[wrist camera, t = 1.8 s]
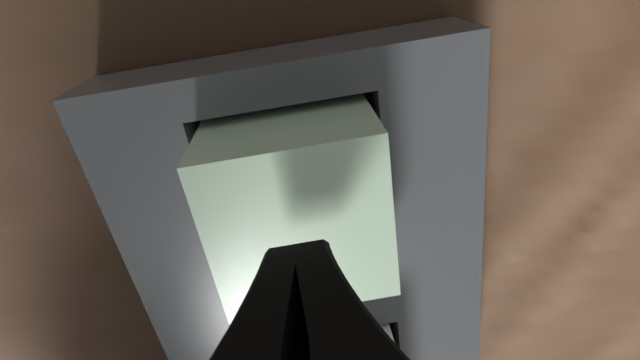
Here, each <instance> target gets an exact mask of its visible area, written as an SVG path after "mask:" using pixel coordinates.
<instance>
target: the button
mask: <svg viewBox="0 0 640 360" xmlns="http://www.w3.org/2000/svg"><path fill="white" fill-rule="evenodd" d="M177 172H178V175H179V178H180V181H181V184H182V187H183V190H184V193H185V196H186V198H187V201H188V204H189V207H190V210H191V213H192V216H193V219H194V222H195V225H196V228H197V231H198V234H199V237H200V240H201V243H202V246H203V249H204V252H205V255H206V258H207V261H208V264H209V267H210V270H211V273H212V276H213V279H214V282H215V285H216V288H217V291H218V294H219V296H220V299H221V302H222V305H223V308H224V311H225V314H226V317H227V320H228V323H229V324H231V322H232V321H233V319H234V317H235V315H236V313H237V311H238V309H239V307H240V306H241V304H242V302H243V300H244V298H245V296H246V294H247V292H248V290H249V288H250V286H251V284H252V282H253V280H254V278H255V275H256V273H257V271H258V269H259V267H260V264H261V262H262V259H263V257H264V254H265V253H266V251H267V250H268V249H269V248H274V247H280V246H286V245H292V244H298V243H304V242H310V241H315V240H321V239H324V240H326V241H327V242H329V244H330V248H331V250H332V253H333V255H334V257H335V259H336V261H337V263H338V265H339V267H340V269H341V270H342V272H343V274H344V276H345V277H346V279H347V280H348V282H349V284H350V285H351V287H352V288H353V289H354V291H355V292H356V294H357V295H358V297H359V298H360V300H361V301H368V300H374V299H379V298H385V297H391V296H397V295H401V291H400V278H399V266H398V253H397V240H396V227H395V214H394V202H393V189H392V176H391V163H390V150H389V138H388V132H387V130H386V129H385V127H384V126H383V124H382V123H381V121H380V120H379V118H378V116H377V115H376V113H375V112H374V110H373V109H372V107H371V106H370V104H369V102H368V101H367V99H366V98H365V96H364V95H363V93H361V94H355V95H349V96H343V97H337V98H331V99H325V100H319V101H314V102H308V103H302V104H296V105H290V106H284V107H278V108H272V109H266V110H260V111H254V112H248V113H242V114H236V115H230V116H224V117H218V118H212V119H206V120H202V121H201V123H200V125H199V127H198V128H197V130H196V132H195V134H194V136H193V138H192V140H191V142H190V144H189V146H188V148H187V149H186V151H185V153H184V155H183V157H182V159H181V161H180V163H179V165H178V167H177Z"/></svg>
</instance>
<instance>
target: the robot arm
mask: <svg viewBox="0 0 640 360" xmlns="http://www.w3.org/2000/svg"><path fill="white" fill-rule="evenodd" d="M209 360H410V359H409V358H408V357H407V356H406V355H405V354H404V352H403V351H402V350H401V349H400V348H399V347H398V346H397V345H396V344H395V342H394V341H393V340H392V339H391V338H390V337H389V335H388V334H387V333H386V332H385V331H384V329H383V328H382V327H381V326H380V324H379V323H378V322H377V321H376V320H375V318H374V317H373V316H372V314H371V313H370V312H369V311H368V309H367V308H366V307H365V305H364V304H363V302H362V301H361V300H360V298H359V297H358V295H357V294H356V292H355V291H354V289H353V288H352V287H351V285H350V284H349V282H348V280H347V279H346V277H345V276H344V274H343V272H342V270H341V269H340V267H339V265H338V263H337V261H336V259H335V257H334V255H333V253H332V250H331V248H330V244H329V242H327V241H326V240H324V239H321V240H315V241H310V242H304V243H298V244H292V245H286V246H280V247H274V248H269V249H268V250H267V251H266V253H265V254H264V257H263V259H262V262H261V264H260V267H259V269H258V271H257V273H256V275H255V278H254V280H253V282H252V284H251V286H250V288H249V290H248V292H247V294H246V296H245V298H244V300H243V302H242V304H241V306H240V307H239V309H238V311H237V313H236V315H235V317H234V319H233V321H232V322H231V324H230V326H229V328H228V329H227V331H226V332H225V334H224V336H223V337H222V339H221V341H220V342H219V344H218V346H217V347H216V349H215V351H214V352H213V354H212V356H211V357H210V359H209Z"/></svg>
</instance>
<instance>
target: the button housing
mask: <svg viewBox="0 0 640 360" xmlns="http://www.w3.org/2000/svg"><path fill="white" fill-rule="evenodd" d="M490 42H491V28H490V27H487V26H483V25H480V24H476V23H473V22H469V21H466V20H463V19H459V18H456V17H452V16H450V17H444V18H438V19H432V20H426V21H420V22H414V23H408V24H402V25H396V26H390V27H384V28H378V29H372V30H366V31H360V32H354V33H348V34H342V35H336V36H330V37H324V38H318V39H312V40H306V41H300V42H294V43H288V44H282V45H276V46H270V47H264V48H258V49H252V50H246V51H240V52H234V53H228V54H222V55H216V56H210V57H204V58H198V59H192V60H186V61H180V62H174V63H168V64H162V65H157V66H151V67H145V68H139V69H133V70H127V71H121V72H115V73H109V74H103V75H97V76H94V77H92V78H91V79H89V80H87V81H85V82H84V83H82V84H80V85H79V86H77V87H75V88H73V89H72V90H70V91H68V92H67V93H65V94H63V95H61V96H60V97H58V98H56V99H55V100H53V101H52V103H53V105H54V107H55V110H56V112H57V114H58V116H59V119H60V121H61V123H62V125H63V127H64V130H65V132H66V134H67V136H68V139H69V141H70V143H71V145H72V147H73V150H74V152H75V154H76V156H77V158H78V161H79V163H80V165H81V167H82V170H83V172H84V174H85V176H86V178H87V181H88V183H89V185H90V187H91V190H92V192H93V194H94V196H95V198H96V201H97V203H98V205H99V207H100V210H101V212H102V214H103V216H104V218H105V221H106V223H107V225H108V227H109V230H110V232H111V234H112V236H113V238H114V241H115V243H116V245H117V247H118V250H119V252H120V254H121V256H122V258H123V261H124V263H125V265H126V267H127V269H128V272H129V274H130V276H131V278H132V281H133V283H134V285H135V287H136V289H137V292H138V294H139V296H140V298H141V301H142V303H143V305H144V307H145V309H146V312H147V314H148V316H149V318H150V321H151V323H152V325H153V327H154V329H155V332H156V334H157V336H158V338H159V341H160V343H161V345H162V347H163V349H164V352H165V354H166V356H167V358H168V360H209V359H210V357H211V356H212V354H213V352H214V351H215V349H216V347H217V346H218V344H219V342H220V341H221V339H222V337H223V336H224V334H225V332H226V331H227V329H228V328H229V326H230V324H229V323H228V320H227V317H226V314H225V311H224V308H223V305H222V302H221V299H220V296H219V294H218V291H217V288H216V285H215V282H214V279H213V276H212V273H211V270H210V267H209V264H208V261H207V258H206V255H205V252H204V249H203V246H202V243H201V240H200V237H199V234H198V231H197V228H196V225H195V222H194V219H193V216H192V213H191V210H190V207H189V204H188V201H187V198H186V196H185V193H184V190H183V187H182V184H181V181H180V178H179V175H178V172H177V167H178V165H179V163H180V161H181V159H182V157H183V155H184V153H185V151H186V149H187V148H188V146H189V144H190V142H191V140H192V138H193V136H194V134H195V132H196V130H197V128H198V127H199V125H200V123H201V121H202V120H206V119H212V118H218V117H223V116H229V115H235V114H241V113H247V112H253V111H259V110H265V109H271V108H277V107H283V106H289V105H295V104H301V103H307V102H313V101H319V100H325V99H331V98H337V97H343V96H349V95H355V94H361V93H363V95H364V96H365V98H366V99H367V101H368V102H369V104H370V106H371V107H372V109H373V110H374V112H375V113H376V115H377V116H378V118H379V120H380V121H381V123H382V124H383V126H384V127H385V129H386V130H387V132H388V138H389V150H390V163H391V176H392V189H393V202H394V214H395V227H396V240H397V253H398V266H399V278H400V291H401V295H397V296H391V297H385V298H379V299H374V300H368V301H362V302H363V304H364V305H365V307H366V308H367V309H368V311H369V312H370V313H371V314H372V316H373V317H374V318H375V320H376V321H377V322H378V323H379V324H380V325H382V324H388V323H389V325H390V328H391V332H392V335H393V338H394V342H395V344H396V345H397V346H398V347H399V348H400V349H401V350H402V351H403V352H404V354H405V355H406V356H407V357H408V358H409V359H410V360H479V344H480V317H481V289H482V262H483V234H484V207H485V179H486V152H487V124H488V97H489V69H490Z"/></svg>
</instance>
